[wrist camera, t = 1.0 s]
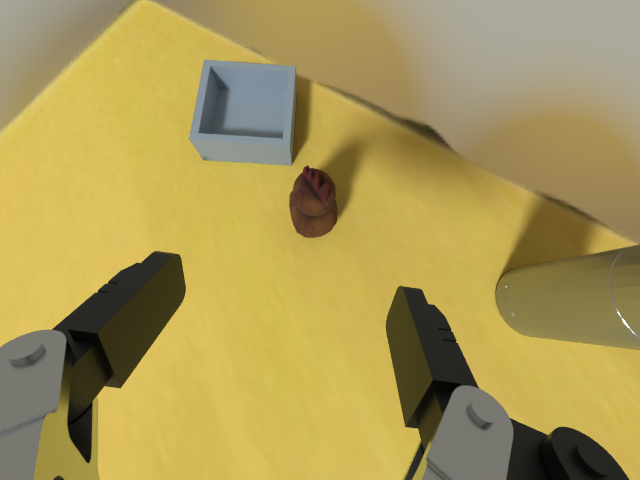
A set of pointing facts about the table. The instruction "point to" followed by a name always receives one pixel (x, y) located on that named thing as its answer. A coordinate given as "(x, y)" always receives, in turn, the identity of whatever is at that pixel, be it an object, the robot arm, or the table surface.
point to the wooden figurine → (313, 203)
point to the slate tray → (245, 113)
